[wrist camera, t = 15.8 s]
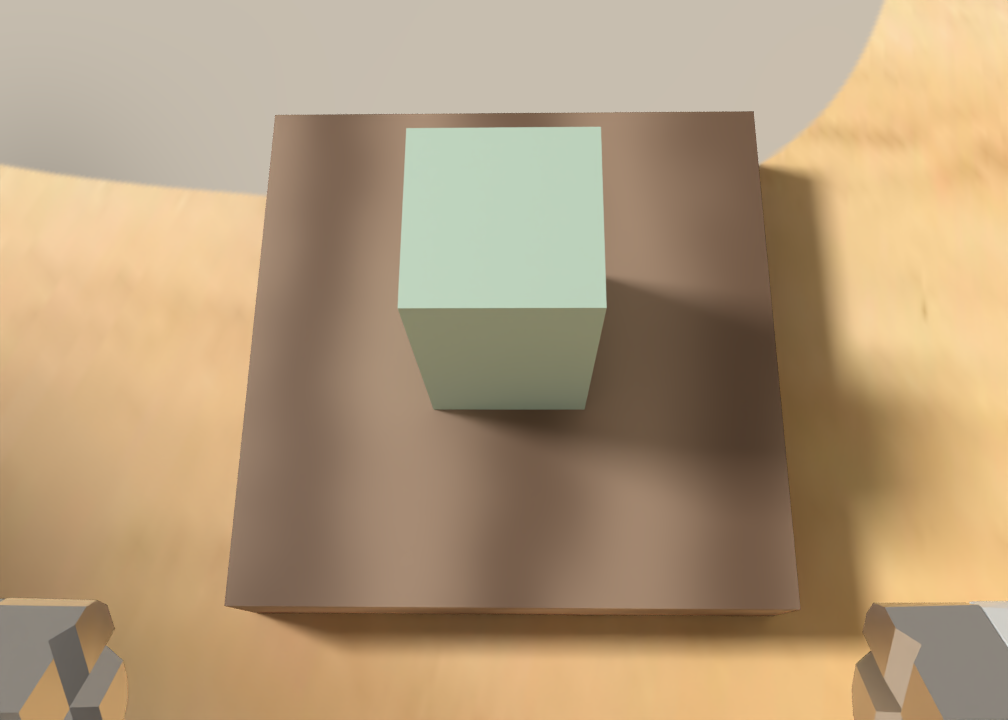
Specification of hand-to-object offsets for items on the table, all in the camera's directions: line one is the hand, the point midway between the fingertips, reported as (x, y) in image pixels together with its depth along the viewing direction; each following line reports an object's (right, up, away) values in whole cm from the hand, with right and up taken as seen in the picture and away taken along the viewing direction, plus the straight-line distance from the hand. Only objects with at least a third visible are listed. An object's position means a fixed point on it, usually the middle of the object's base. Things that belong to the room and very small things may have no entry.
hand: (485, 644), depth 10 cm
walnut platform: (0, +3, +21) cm, 21 cm away
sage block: (0, +4, +18) cm, 18 cm away
